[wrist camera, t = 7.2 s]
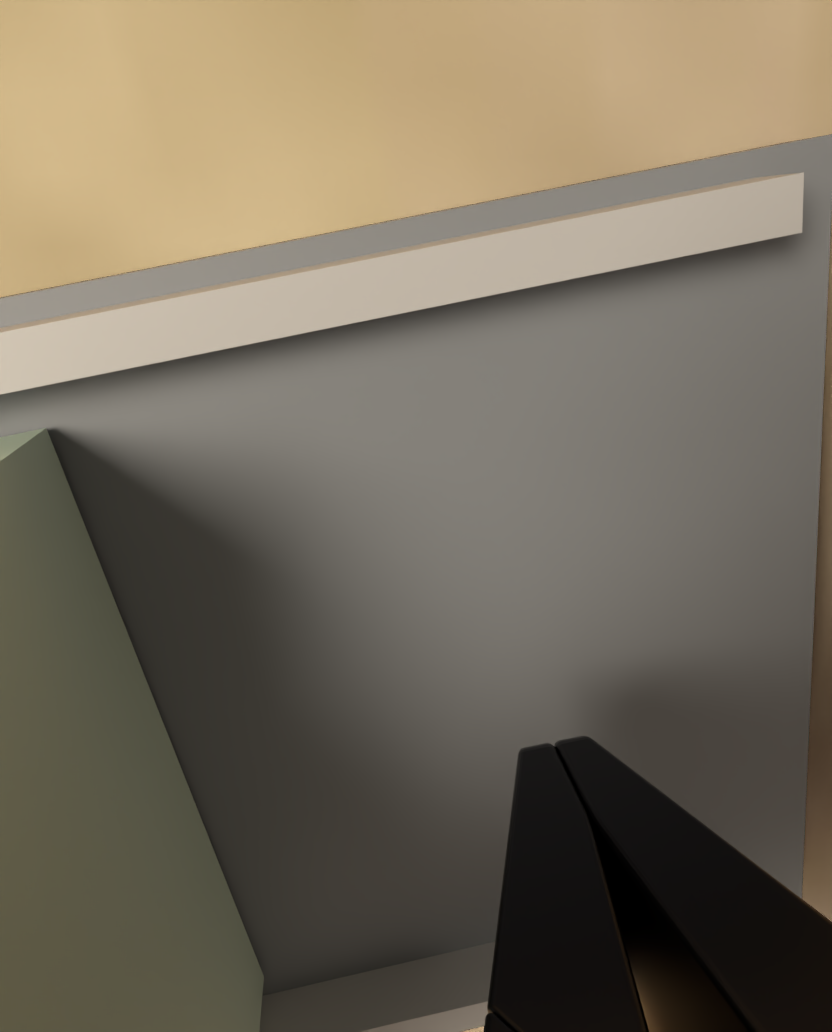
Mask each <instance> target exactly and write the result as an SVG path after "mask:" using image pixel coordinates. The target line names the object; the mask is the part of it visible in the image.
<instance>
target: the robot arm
mask: <svg viewBox="0 0 832 1032" xmlns="http://www.w3.org/2000/svg"><path fill="white" fill-rule="evenodd" d="M487 1010H488V1014H487V1015H486V1017H485V1025H484V1032H832V922H831V921H830V920H829V919H827V918H826V917H825V916H823V915H822V914H821V913H819V912H818V911H817V910H815V909H814V908H813V907H812V906H810V905H809V904H808V903H806V902H805V901H804V900H802V899H801V898H800V897H798V896H797V895H796V894H795V893H793V892H792V891H791V890H789V889H788V888H787V887H785V886H784V885H783V884H781V883H780V882H779V881H778V880H776V879H775V878H774V877H772V876H771V875H770V874H768V873H767V872H766V871H764V870H763V869H762V868H761V867H759V866H758V865H757V864H755V863H754V862H753V861H751V860H750V859H749V858H747V857H746V856H745V855H744V854H742V853H741V852H740V851H738V850H737V849H736V848H734V847H733V846H732V845H730V844H729V843H728V842H727V841H725V840H724V839H723V838H721V837H720V836H719V835H717V834H716V833H715V832H713V831H712V830H711V829H710V828H708V827H707V826H706V825H704V824H703V823H702V822H700V821H699V820H698V819H696V818H695V817H694V816H693V815H691V814H690V813H689V812H687V811H686V810H685V809H683V808H682V807H681V806H679V805H678V804H677V803H676V802H674V801H673V800H672V799H670V798H669V797H668V796H666V795H665V794H664V793H662V792H661V791H660V790H659V789H657V788H656V787H655V786H653V785H652V784H651V783H649V782H648V781H647V780H646V779H644V778H643V777H642V776H640V775H639V774H638V773H636V772H635V771H634V770H632V769H631V768H630V767H629V766H627V765H626V764H625V763H623V762H622V761H621V760H619V759H618V758H617V757H615V756H614V755H613V754H612V753H610V752H609V751H608V750H606V749H605V748H604V747H602V746H601V745H600V744H598V743H597V742H596V741H595V740H593V739H592V738H590V737H588V736H578V737H573V738H568V739H563V740H559V741H557V742H556V743H555V745H554V746H553V745H552V744H550V743H543V744H538V745H534V746H529V747H524V748H521V749H520V751H519V753H518V759H517V767H516V776H515V784H514V792H513V800H512V808H511V817H510V825H509V833H508V841H507V849H506V858H505V866H504V874H503V882H502V890H501V898H500V907H499V915H498V923H497V931H496V939H495V947H494V956H493V964H492V972H491V980H490V988H489V996H488V1005H487Z"/></svg>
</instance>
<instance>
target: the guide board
mask: <svg viewBox="0 0 832 1032" xmlns="http://www.w3.org/2000/svg"><path fill="white" fill-rule="evenodd" d="M831 211H832V134H831V135H825V136H819V137H814V138H808V139H802V140H797V141H791V142H786V143H780V144H775V145H770V146H765V147H760V148H755V149H750V150H745V151H740V152H735V153H730V154H725V155H720V156H715V157H710V158H704V159H699V160H694V161H689V162H684V163H679V164H674V165H669V166H664V167H659V168H654V169H649V170H644V171H639V172H634V173H629V174H623V175H618V176H613V177H608V178H603V179H598V180H593V181H588V182H583V183H578V184H573V185H568V186H563V187H558V188H553V189H548V190H542V191H537V192H532V193H527V194H522V195H517V196H512V197H507V198H502V199H497V200H492V201H487V202H482V203H477V204H472V205H467V206H461V207H456V208H451V209H446V210H441V211H436V212H431V213H426V214H421V215H416V216H411V217H406V218H401V219H396V220H391V221H386V222H381V223H375V224H370V225H365V226H360V227H355V228H350V229H345V230H340V231H335V232H330V233H325V234H320V235H315V236H310V237H305V238H300V239H294V240H289V241H284V242H279V243H274V244H269V245H264V246H259V247H254V248H249V249H244V250H239V251H234V252H229V253H224V254H219V255H213V256H208V257H203V258H198V259H193V260H188V261H183V262H178V263H173V264H168V265H163V266H158V267H153V268H148V269H143V270H138V271H132V272H127V273H122V274H117V275H112V276H107V277H102V278H97V279H92V280H87V281H82V282H77V283H72V284H67V285H62V286H57V287H51V288H46V289H41V290H36V291H31V292H26V293H21V294H16V295H11V296H6V297H1V298H0V437H4V436H9V435H14V434H19V433H24V432H29V431H34V430H39V429H44V428H46V429H47V431H48V434H49V436H50V439H51V441H52V444H53V446H54V449H55V451H56V454H57V456H58V459H59V461H60V464H61V466H62V469H63V471H64V474H65V476H66V479H67V482H68V484H69V487H70V489H71V492H72V494H73V497H74V499H75V502H76V504H77V507H78V509H79V512H80V514H81V517H82V519H83V522H84V524H85V527H86V529H87V532H88V534H89V537H90V539H91V542H92V545H93V547H94V550H95V552H96V555H97V557H98V560H99V562H100V565H101V567H102V570H103V572H104V575H105V577H106V580H107V582H108V585H109V587H110V590H111V592H112V595H113V597H114V600H115V602H116V605H117V608H118V610H119V613H120V615H121V618H122V620H123V623H124V625H125V628H126V630H127V633H128V635H129V638H130V640H131V643H132V645H133V648H134V650H135V653H136V655H137V658H138V660H139V663H140V665H141V668H142V670H143V673H144V676H145V678H146V681H147V683H148V686H149V688H150V691H151V693H152V696H153V698H154V701H155V703H156V706H157V708H158V711H159V713H160V716H161V718H162V721H163V723H164V726H165V728H166V731H167V733H168V736H169V739H170V741H171V744H172V746H173V749H174V751H175V754H176V756H177V759H178V761H179V764H180V766H181V769H182V771H183V774H184V776H185V779H186V781H187V784H188V786H189V789H190V791H191V794H192V796H193V799H194V802H195V804H196V807H197V809H198V812H199V814H200V817H201V819H202V822H203V824H204V827H205V829H206V832H207V834H208V837H209V839H210V842H211V844H212V847H213V849H214V852H215V854H216V857H217V859H218V862H219V864H220V867H221V870H222V872H223V875H224V877H225V880H226V882H227V885H228V887H229V890H230V892H231V895H232V897H233V900H234V902H235V905H236V907H237V910H238V912H239V915H240V917H241V920H242V922H243V925H244V927H245V930H246V933H247V935H248V938H249V940H250V943H251V945H252V948H253V950H254V953H255V955H256V958H257V960H258V963H259V965H260V968H261V970H262V973H263V975H264V983H263V995H262V1006H261V1018H260V1029H259V1032H461V1031H465V1030H470V1029H474V1028H478V1027H482V1026H484V1025H485V1017H486V1015H487V1014H488V1010H487V1005H488V996H489V988H490V980H491V972H492V964H493V956H494V947H495V939H496V931H497V923H498V915H499V907H500V898H501V890H502V882H503V874H504V866H505V858H506V849H507V841H508V833H509V825H510V817H511V808H512V800H513V792H514V784H515V776H516V767H517V759H518V753H519V751H520V749H521V748H524V747H529V746H534V745H538V744H543V743H550V744H552V745H553V746H554V745H555V743H556V742H557V741H559V740H563V739H568V738H573V737H578V736H588V737H590V738H592V739H593V740H595V741H596V742H597V743H598V744H600V745H601V746H602V747H604V748H605V749H606V750H608V751H609V752H610V753H612V754H613V755H614V756H615V757H617V758H618V759H619V760H621V761H622V762H623V763H625V764H626V765H627V766H629V767H630V768H631V769H632V770H634V771H635V772H636V773H638V774H639V775H640V776H642V777H643V778H644V779H646V780H647V781H648V782H649V783H651V784H652V785H653V786H655V787H656V788H657V789H659V790H660V791H661V792H662V793H664V794H665V795H666V796H668V797H669V798H670V799H672V800H673V801H674V802H676V803H677V804H678V805H679V806H681V807H682V808H683V809H685V810H686V811H687V812H689V813H690V814H691V815H693V816H694V817H695V818H696V819H698V820H699V821H700V822H702V823H703V824H704V825H706V826H707V827H708V828H710V829H711V830H712V831H713V832H715V833H716V834H717V835H719V836H720V837H721V838H723V839H724V840H725V841H727V842H728V843H729V844H730V845H732V846H733V847H734V848H736V849H737V850H738V851H740V852H741V853H742V854H744V855H745V856H746V857H747V858H749V859H750V860H751V861H753V862H754V863H755V864H757V865H758V866H759V867H761V868H762V869H763V870H764V871H766V872H767V873H768V874H770V875H771V876H772V877H774V878H775V879H776V880H778V881H779V882H780V883H781V884H783V885H784V886H785V887H787V888H788V889H789V890H791V891H792V892H793V893H795V894H796V895H797V896H798V897H800V898H801V899H802V885H803V862H804V838H805V815H806V792H807V769H808V745H809V722H810V699H811V676H812V653H813V629H814V606H815V583H816V560H817V536H818V513H819V490H820V467H821V443H822V420H823V397H824V374H825V351H826V327H827V304H828V281H829V258H830V234H831Z"/></svg>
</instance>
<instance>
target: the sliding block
mask: <svg viewBox="0 0 832 1032" xmlns="http://www.w3.org/2000/svg"><path fill="white" fill-rule="evenodd" d="M263 983H264V975H263V973H262V970H261V968H260V965H259V963H258V960H257V958H256V955H255V953H254V950H253V948H252V945H251V943H250V940H249V938H248V935H247V933H246V930H245V927H244V925H243V922H242V920H241V917H240V915H239V912H238V910H237V907H236V905H235V902H234V900H233V897H232V895H231V892H230V890H229V887H228V885H227V882H226V880H225V877H224V875H223V872H222V870H221V867H220V864H219V862H218V859H217V857H216V854H215V852H214V849H213V847H212V844H211V842H210V839H209V837H208V834H207V832H206V829H205V827H204V824H203V822H202V819H201V817H200V814H199V812H198V809H197V807H196V804H195V802H194V799H193V796H192V794H191V791H190V789H189V786H188V784H187V781H186V779H185V776H184V774H183V771H182V769H181V766H180V764H179V761H178V759H177V756H176V754H175V751H174V749H173V746H172V744H171V741H170V739H169V736H168V733H167V731H166V728H165V726H164V723H163V721H162V718H161V716H160V713H159V711H158V708H157V706H156V703H155V701H154V698H153V696H152V693H151V691H150V688H149V686H148V683H147V681H146V678H145V676H144V673H143V670H142V668H141V665H140V663H139V660H138V658H137V655H136V653H135V650H134V648H133V645H132V643H131V640H130V638H129V635H128V633H127V630H126V628H125V625H124V623H123V620H122V618H121V615H120V613H119V610H118V608H117V605H116V602H115V600H114V597H113V595H112V592H111V590H110V587H109V585H108V582H107V580H106V577H105V575H104V572H103V570H102V567H101V565H100V562H99V560H98V557H97V555H96V552H95V550H94V547H93V545H92V542H91V539H90V537H89V534H88V532H87V529H86V527H85V524H84V522H83V519H82V517H81V514H80V512H79V509H78V507H77V504H76V502H75V499H74V497H73V494H72V492H71V489H70V487H69V484H68V482H67V479H66V476H65V474H64V471H63V469H62V466H61V464H60V461H59V459H58V456H57V454H56V451H55V449H54V446H53V444H52V441H51V439H50V436H49V434H48V431H47V429H46V428H44V429H39V430H34V431H29V432H24V433H19V434H14V435H9V436H4V437H0V1032H259V1029H260V1018H261V1006H262V995H263Z"/></svg>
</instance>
